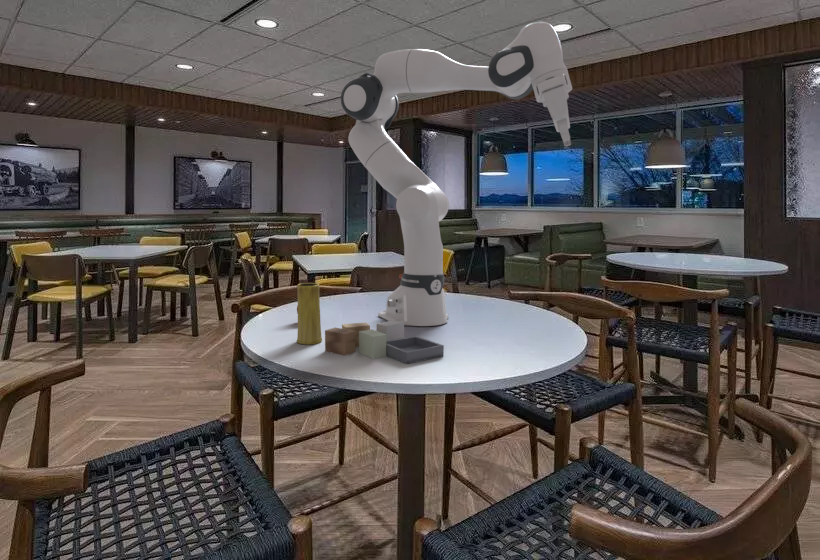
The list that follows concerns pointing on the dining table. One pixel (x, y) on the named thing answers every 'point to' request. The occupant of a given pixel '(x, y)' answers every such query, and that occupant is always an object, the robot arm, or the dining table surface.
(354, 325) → the block oak
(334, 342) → the block walnut
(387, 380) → the dining table surface
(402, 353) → the slate dish
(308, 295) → the vase
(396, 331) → the block grey
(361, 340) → the block sage
